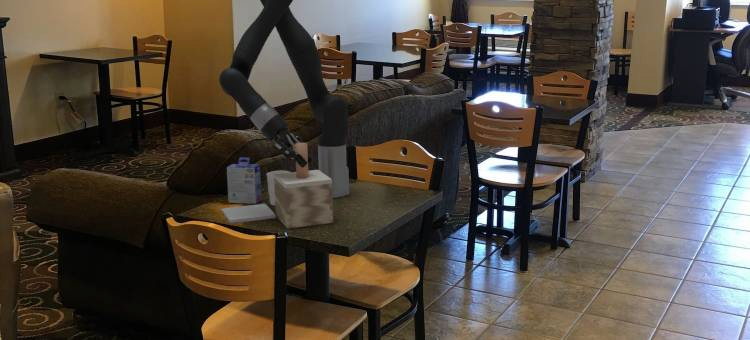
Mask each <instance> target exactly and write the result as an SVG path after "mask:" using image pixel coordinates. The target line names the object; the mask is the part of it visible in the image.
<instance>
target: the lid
mask: <svg viewBox="0 0 750 340" xmlns="http://www.w3.org/2000/svg"><path fill="white" fill-rule="evenodd" d="M295 149H296V150H297V151H298V153H299V154H300V155H301V156H302V157H303V158H304V159H305V160H306V161H307V165H306V166H305V167H303V168H302V167H301V166H300V165H299V164H298V163H297V162H296V161H295V171H293V172H291V171H290V172H291V173H281V174H274V178H275V179H276V180H277V181H278V182H279V183H280V184H281V185H282V186H284V187H285V188H294V187H303V186H313V185H322V184H331V183H332V179H331V178H329V177H328V176H326V175H325V174H324V173H322V172H321V171H319V169H313V170H312V169H311V170H310V169H309V165H308V154H309V151H308V143H307V142H304V143H296V144H295Z"/></svg>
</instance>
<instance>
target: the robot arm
mask: <svg viewBox="0 0 750 340" xmlns="http://www.w3.org/2000/svg"><path fill="white" fill-rule="evenodd" d="M293 1H294V0H260V3H261V4H262V7H263V8H262V10H261V12H260V13H259V14H258V16H257V17H256V18H255V20H254V21H253V22H252V23H251V24H250V26H248V28H247V29H246V30H244V31H245V32H244V33H243V35H242V36H241V37H240V39H239V41H238V43H237V45H236V47H235V50H234V52H233V54H232V60H231V63H230V66H229V67H227V68H225V69H223V70H222V71H221V72H220V74H219V78H218V79H219V84H220V87H221V89H222V91H223V92H224V93H225V94H226V95H227V96H230V97H231V98H233V100H234V102H236V103H237V104H238V106H239V108H240V109H241V110H242V112H243V113H244V114H245V115H246V116H247V117H248V118H249V119H250V120H251V122H252V123H253V124H254V126H255V127H256V128H257V130H259V132H261V134H263V136H264V138H266V139H267V140H268V141H269V142H275V144H274V146H273V148H274V149H275V150H277V152H279V153H281V155H283V156H284V157H285V158H286V159H288V160H289V159H292V160H294V161H295V163H296V162H297V163H298V164H299V165H300V166H301V167H302V168H303V167H305V166H306V165H307V161H306V160H305V159H304V158H303V157H302V156H301V155H300V154H299V153H298V151H297V150H296V149H295V144H296V143H305V142H304V140H303V138H302V137H301V135H299V133H297V132H296V133H294V134H293V133H292V132H290V131H289V129H288V128H289V122H287V120H286V119H284V118H283V116H281V114H280V113H278V112H279V111H277V110H276V109H275V108H274V107H273V106H272V105H271V104H270V103H268V102H267V101H266V99H265V98H263V96H262V95H260V93H258V92H257V90H256V89H255V88H254V87H253V86H252V84H251V83H250V81H249V79H250V76H251V73H252V69H253V68H254V65H255V64H256V62H257V60H258V59H259V56H260V55H261V52H262V50H263V48H264V46H265V44H266V43H267V40H268V38H269V37H270V36H271V33H272V32H273V30H274V28H275V29H276V31H277V34H278V37H279V38H280V40H281V42H282V44H283V47H284V49H285V52H286V54H287V55H288V57H289V60H290V62H291V65H292V66H293V68H294V70H295V72H296V75H297V77H298V79H299V81H300V83H301V84H302V86H303V89H304V92H305V94H306V97H307V100H308V102H309V105H310V109H311V111H312V114H313V115H314V117H315V118H316V120H317V121H319V122H321V123H323V124H322V128H323V129H322V134H319V136H318V137H317V152H318V153H317V154H318V158H317V159H318V170H319V171H321V172H322V173H324V174H325V175H326V176H328V177H329V178H331V179H332V195H333V199H337V198H343V197H346V196H350V177H349V171H350V170H349V167H348V166H347V141H346V140H347V138H348V134H349V108H348V105H347V102H346V101H345V100H344V99H343V98H341V97H339V96H333V95H332V94H331V93H330V91H329V89H328V87H327V85H326V83H325V81H324V79H323V73H322V72H323V70H322V59H321V55H320V52H319V50H318V48H317V46H316V43H315V41H314V39H313V37H312V36H311V34H310V33H309V32H308V30H306V29H305V27H304V26H303V25H302V24H301V23H300V22H299V21H298V19H296V17H295V16H294V14H293V12H292V10H291V9H290V6H291V4H292V3H293ZM313 161H314V159H313V157H312V156H311V155H310V154H309V153H308V166H309V165H311V164H312V163H313Z"/></svg>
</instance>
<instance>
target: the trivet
mask: <svg viewBox="0 0 750 340" xmlns="http://www.w3.org/2000/svg"><path fill="white" fill-rule="evenodd" d="M220 210H221V211H220V212H221V213H222V215H223V214H224V215H223V216H224V217H225V219H226V218H227V219H228V220H227V219H226V220H227V222H228V223H229V222H230V223H229V224H236V223H237V222H238V223H244V222H254V221H261V220H263V221H264V220H269V219H270V220H271V219H272V220H273V219H277V217H276V213H275V212H274V210H273V211H272V209H271V208H270V207H269V206H268V205H267V204H266V203H260V204H253V205H252V204H250V205H242V206H232V207H226V208H224V207H223V208H220ZM235 222H236V223H235Z"/></svg>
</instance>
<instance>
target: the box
mask: <svg viewBox="0 0 750 340" xmlns="http://www.w3.org/2000/svg"><path fill="white" fill-rule="evenodd" d="M274 188H275V215H276V219H278V221H280V222H281V223H282V224H283V225H284V226H285V227H286V228H287V229H293V228H301V227H308V226H311V227H312V226H317V225H326V224H334V201H333V199H334V198H333V195H332V183H331V184H322V185H313V186H303V187H294V188H285V187H284V186H282V185H281V184H280V183H279V182H278V181H277V180H276V179H275V178H274Z"/></svg>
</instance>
